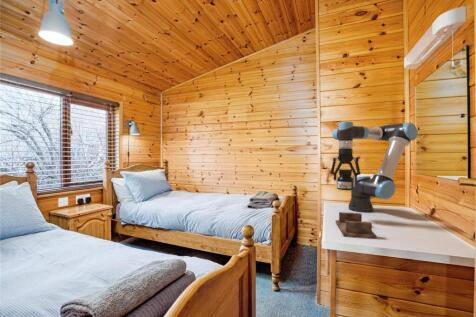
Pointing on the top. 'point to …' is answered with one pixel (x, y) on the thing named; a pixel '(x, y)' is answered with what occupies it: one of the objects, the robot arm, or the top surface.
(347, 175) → the ink bottle
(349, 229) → the cradle
